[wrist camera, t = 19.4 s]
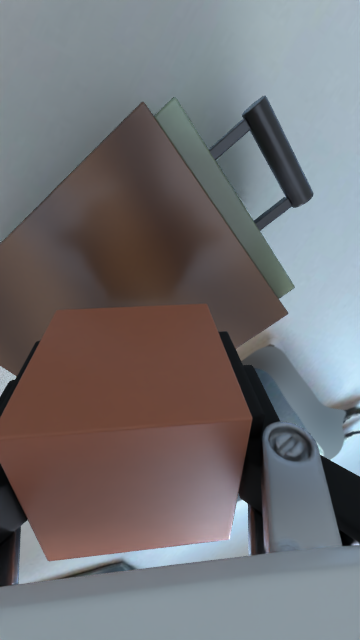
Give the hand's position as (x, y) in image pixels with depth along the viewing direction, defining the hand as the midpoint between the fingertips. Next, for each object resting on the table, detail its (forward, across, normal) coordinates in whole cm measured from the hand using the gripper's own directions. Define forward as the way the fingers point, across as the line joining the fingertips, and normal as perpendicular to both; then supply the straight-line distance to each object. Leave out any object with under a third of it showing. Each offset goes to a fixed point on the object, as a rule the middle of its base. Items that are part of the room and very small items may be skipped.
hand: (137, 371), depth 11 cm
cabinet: (+15, +1, +1) cm, 15 cm away
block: (0, 0, 0) cm, 0 cm away
